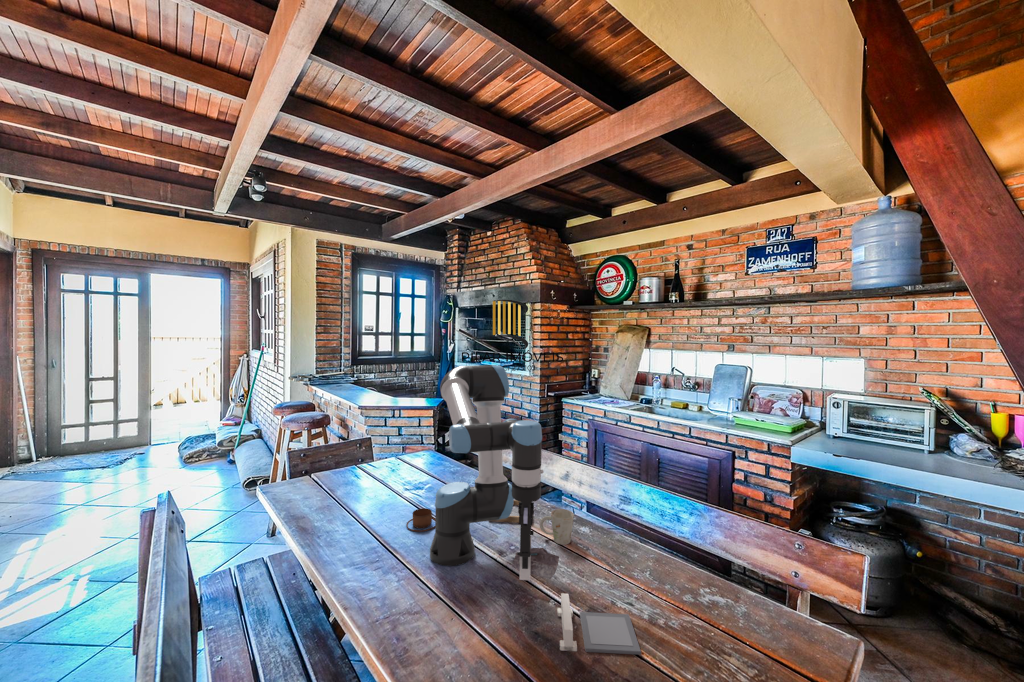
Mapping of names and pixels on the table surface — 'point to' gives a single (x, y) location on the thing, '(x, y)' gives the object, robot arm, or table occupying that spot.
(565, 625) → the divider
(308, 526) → the table surface
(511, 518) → the wooden frame
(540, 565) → the rock
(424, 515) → the cup and saucer
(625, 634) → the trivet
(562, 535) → the mug
